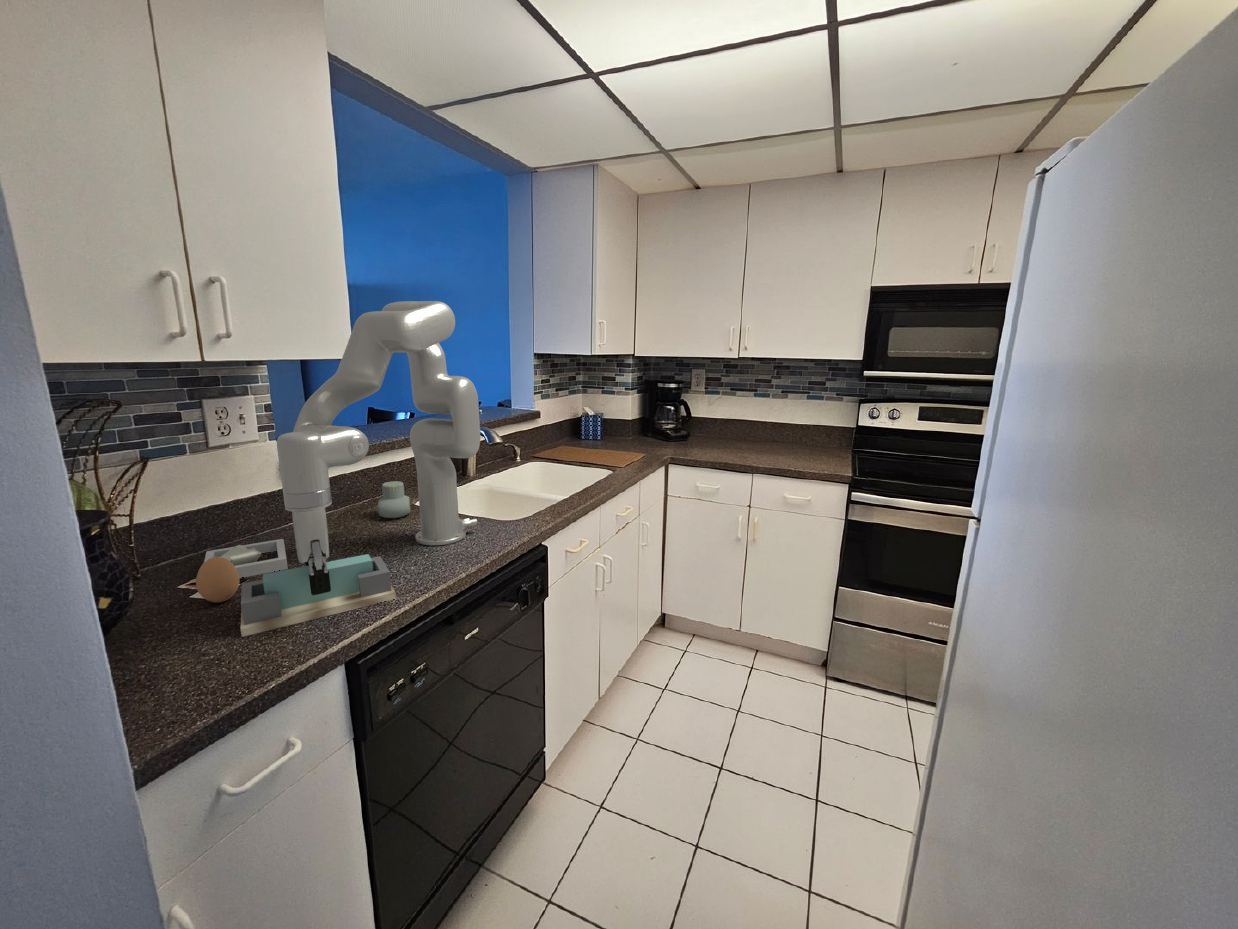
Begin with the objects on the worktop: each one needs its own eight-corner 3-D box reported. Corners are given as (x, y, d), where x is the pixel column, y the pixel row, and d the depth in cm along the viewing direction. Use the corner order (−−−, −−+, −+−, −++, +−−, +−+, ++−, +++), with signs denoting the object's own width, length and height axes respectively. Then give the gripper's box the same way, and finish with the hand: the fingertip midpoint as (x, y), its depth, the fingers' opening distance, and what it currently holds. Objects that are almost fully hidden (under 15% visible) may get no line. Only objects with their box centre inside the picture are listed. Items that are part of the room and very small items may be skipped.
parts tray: (284, 548, 128) (283, 538, 127) (287, 569, 116) (286, 558, 115) (208, 561, 119) (206, 551, 119) (203, 585, 107) (201, 574, 107)
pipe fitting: (264, 560, 122) (232, 559, 121) (263, 544, 121) (231, 544, 120) (246, 574, 114) (212, 574, 113) (245, 557, 113) (211, 557, 112)
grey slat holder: (381, 573, 110) (380, 556, 110) (391, 590, 103) (389, 571, 102) (244, 603, 97) (241, 583, 96) (244, 625, 89) (240, 604, 88)
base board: (383, 577, 112) (383, 571, 112) (396, 599, 102) (395, 592, 102) (242, 608, 98) (241, 601, 98) (241, 637, 88) (240, 629, 88)
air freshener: (381, 511, 157) (378, 480, 155) (410, 509, 160) (408, 478, 158) (378, 522, 147) (375, 489, 145) (409, 519, 150) (407, 486, 148)
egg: (244, 590, 105) (237, 548, 103) (240, 604, 100) (233, 560, 98) (203, 598, 102) (195, 555, 100) (197, 612, 96) (188, 567, 94)
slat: (371, 581, 107) (368, 554, 106) (374, 588, 104) (372, 560, 102) (267, 604, 97) (262, 574, 95) (267, 612, 94) (263, 582, 92)
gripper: (282, 490, 100) (293, 572, 104) (286, 513, 87) (299, 606, 90) (325, 485, 105) (334, 564, 108) (336, 506, 91) (346, 595, 94)
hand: (318, 583), depth 99 cm, fingers open, 9 cm apart
